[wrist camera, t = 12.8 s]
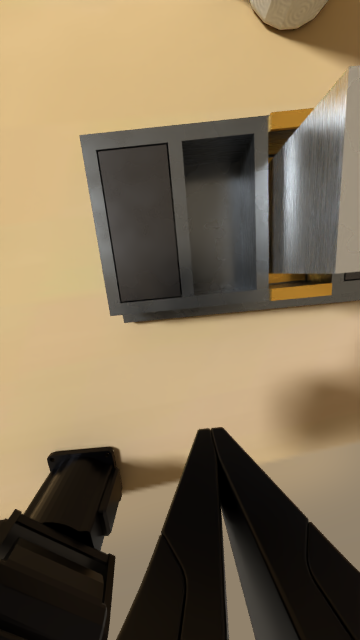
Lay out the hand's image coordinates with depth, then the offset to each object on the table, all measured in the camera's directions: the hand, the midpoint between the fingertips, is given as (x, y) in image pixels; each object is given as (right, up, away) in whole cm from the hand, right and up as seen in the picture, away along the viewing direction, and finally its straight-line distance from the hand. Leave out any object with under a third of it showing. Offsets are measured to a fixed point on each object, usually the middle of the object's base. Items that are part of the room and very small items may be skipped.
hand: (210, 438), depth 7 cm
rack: (+4, +11, +10) cm, 16 cm away
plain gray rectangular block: (+7, +11, +9) cm, 16 cm away
